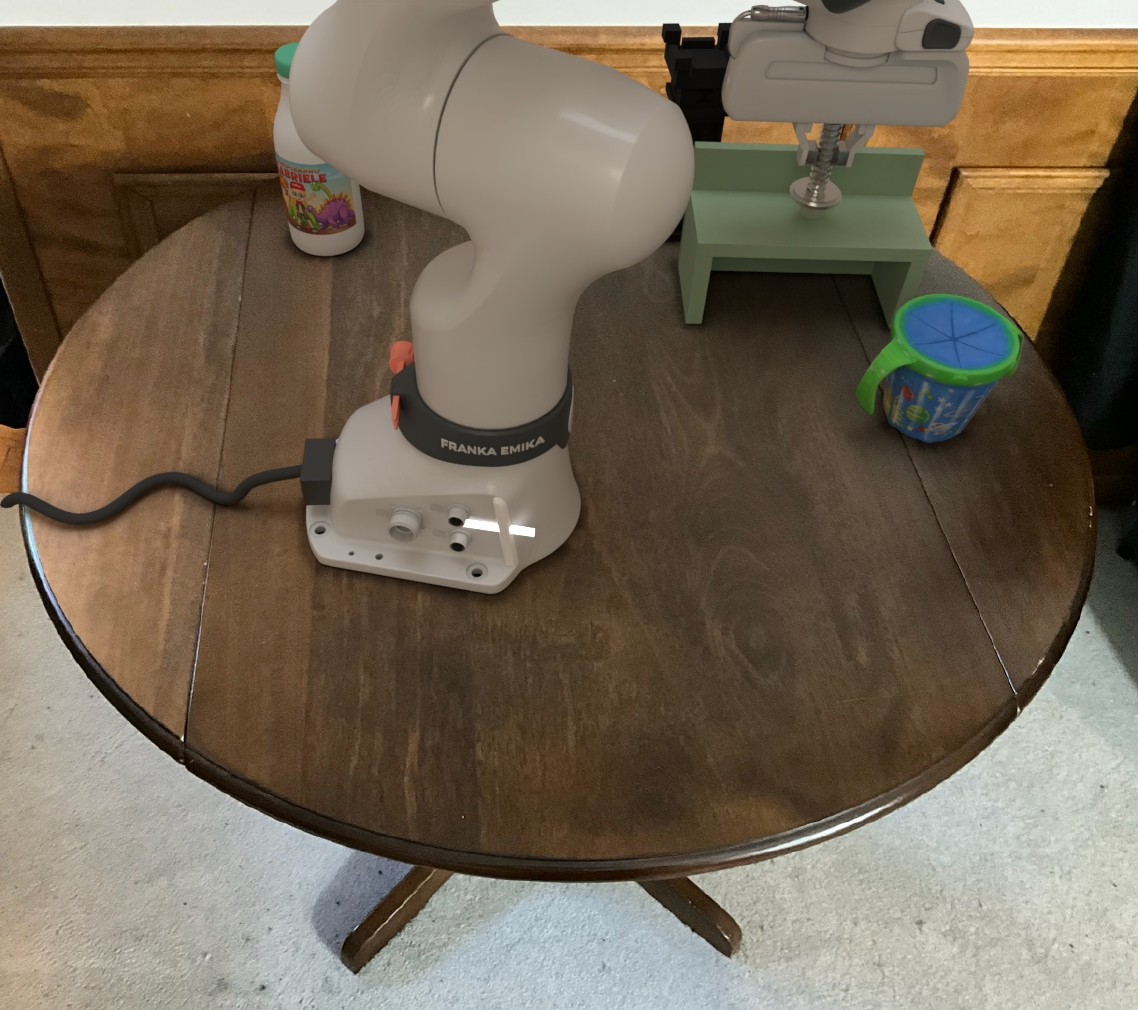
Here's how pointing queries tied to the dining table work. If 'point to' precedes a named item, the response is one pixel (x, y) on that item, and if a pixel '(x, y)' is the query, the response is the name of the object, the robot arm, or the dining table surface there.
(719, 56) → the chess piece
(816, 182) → the screw
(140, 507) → the dining table surface
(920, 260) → the shelf
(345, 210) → the milk bottle
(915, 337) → the snack cup
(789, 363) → the dining table surface
